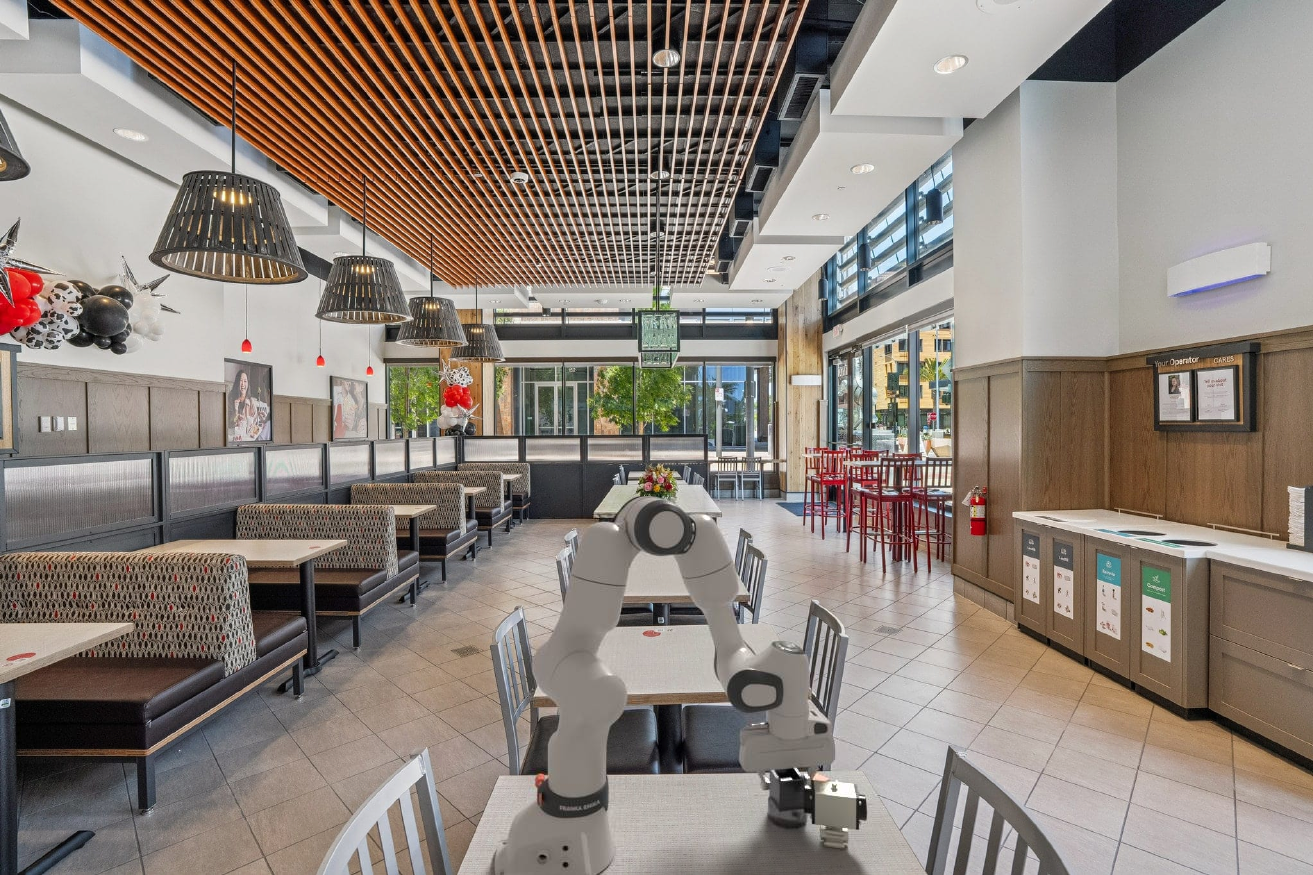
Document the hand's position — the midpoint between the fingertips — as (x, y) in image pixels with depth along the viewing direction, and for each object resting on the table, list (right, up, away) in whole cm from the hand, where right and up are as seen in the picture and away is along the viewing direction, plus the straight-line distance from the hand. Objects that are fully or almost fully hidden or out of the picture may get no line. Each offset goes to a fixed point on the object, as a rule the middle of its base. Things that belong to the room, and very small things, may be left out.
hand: (786, 786), depth 128 cm
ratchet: (+4, -6, +4) cm, 8 cm away
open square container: (0, -4, 0) cm, 4 cm away
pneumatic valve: (+8, -7, -7) cm, 13 cm away
